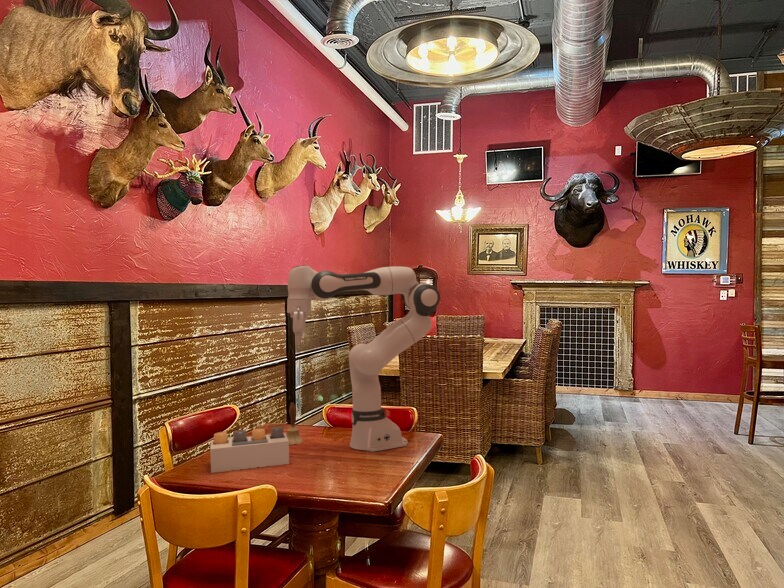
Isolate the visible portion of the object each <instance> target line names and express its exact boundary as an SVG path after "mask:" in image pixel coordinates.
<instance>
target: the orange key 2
mask: <svg viewBox="0 0 784 588" xmlns="http://www.w3.org/2000/svg"><path fill="white" fill-rule="evenodd" d="M251 433H252V435H251V436H252V440H263V439H265V435H266V429H265V428H261V427H260V428H254V429H252V431H251Z"/></svg>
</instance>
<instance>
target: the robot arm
mask: <svg viewBox="0 0 784 588" xmlns="http://www.w3.org/2000/svg"><path fill="white" fill-rule="evenodd" d="M287 291H288V294H287V295H288V297H287V301H286V304H287V305H286V306H287V307H286V308H287V309H286V313H287V314H290V318H291V319H292V331H293V333H294V335H295V336H294V337H295V338H294V340H295V344H294V345H295V346H297V347H298V346H299V347H300V346H302V337H303V336H302V335H303V334H304V333H305V330H306V329H305V328H306V322H307V321H306V320H307V319H308V315H309V314H311V313H312V300H313V299H314V300H317V301H321V302H323V301H327V300H329V299H331V298H333V297H334V296H336V295H337V294H339V293H342V292H351V291H353V292H354V291H367V292H369V293H370V294H371V295H375V296H390V295H399V294H400V296H401V299H402V300H403V304H404V306H405V307H406V308H407V309H408V310H409V311H408V313H407V314H406V315H405V316H403V317H402V318H400V319H399V320H396V321H395V322H394V323H393V324H391V325H390V326H388V327H386V328H385V329H383V330H382V331H381V333H379V334H378V335H377V336H376V337H375V338H373V339H372V340H371V341H370V342H369V343H358V344H356V345H354V346H353V347H352V348H351V349H350V350H349V352H348V364H349V373H350V375H349V376H350V380H351V381H350V382H351V391H352V392H351V393H352V409H351V424H352V428H351V429H352V430H351V431H352V432H351V437H350V442H349V447H350V448H352V449H354V450H358V451H367V452H372V453H373V452H380V451H385V450H391V449H396V448H401V447H407V446H409V445H408V444H409V442H408V439H407V438H405V437H404V436H402V435H403V434H402V431H401V429H400V427H399V426H398V425H397V424H396V423H395V422H393V421H392V420H391V419H390V418H388V417H389V416H390V410H388V409H385V408H383V407H382V391H381V390H382V389H381V388H382V387H381V383H380V381H379V380H380V379H379V378H380V377H379V373H380V372H382V370H383V369H384V368H385V367H386V366H387V365H388V364H390V362H392V360H394V359H395V358H396V357H397V356H398V355H400V354H401V353H403V352H404V351H406V350H407V349H409V348H410V347H411V346H413V345H414V344H416V343H418V342H419V341H420V340H421V339H422V338H424V337H425V336H426V335H427V334H428V333H429V332H430V331H431V329H432V327H433V321H432V319H431V316H433V315H434V313H435V310H436V309H437V307H438V306H439V303H440V300H441V294H440V291H439V290H438V289H437V288H436V287H435V286H434V285H432V284H430V283H429V284H428V283H420V282H418V279H417V276H416V272H415V270H414V269H413V268H411V267H409V266H399V265H397V266H396V265H395V266H383V267H377V268H373V269H371V270H368V271H364V272H359V273H358V272H357V273H345V274H344V273H343V274H340V273H336V272H333V271H330V270H321V271H319V272H318V271H316V270H314V269H313V268H311V266H310V265H305V264H302V265H298V266H293V267H292V268H291V269H290V270H289V272H288V278H287Z"/></svg>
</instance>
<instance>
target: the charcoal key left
mask: <svg viewBox="0 0 784 588" xmlns="http://www.w3.org/2000/svg"><path fill="white" fill-rule="evenodd" d="M283 433H284V427H282V426H274V427H271V428H270V434H271V439H276V438H283Z"/></svg>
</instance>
